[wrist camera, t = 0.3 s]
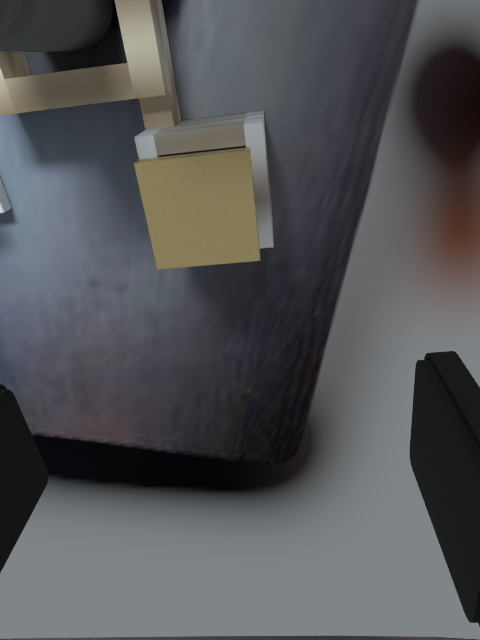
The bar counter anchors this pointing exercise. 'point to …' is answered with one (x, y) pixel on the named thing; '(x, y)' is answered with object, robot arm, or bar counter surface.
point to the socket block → (143, 100)
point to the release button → (200, 207)
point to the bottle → (53, 24)
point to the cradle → (3, 199)
